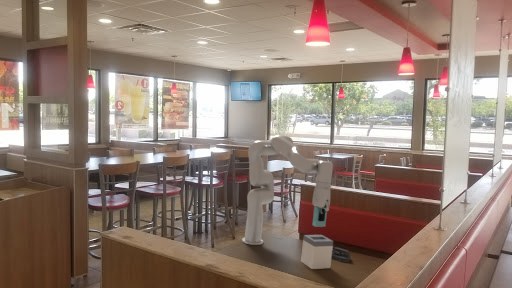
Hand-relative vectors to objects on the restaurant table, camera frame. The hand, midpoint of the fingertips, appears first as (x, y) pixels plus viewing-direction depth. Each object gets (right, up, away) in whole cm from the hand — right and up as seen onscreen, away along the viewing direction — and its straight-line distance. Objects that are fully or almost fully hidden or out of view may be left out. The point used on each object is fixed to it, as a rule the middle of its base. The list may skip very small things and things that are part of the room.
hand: (319, 219), depth 204 cm
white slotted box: (-2, -23, +1) cm, 24 cm away
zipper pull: (+8, -24, +20) cm, 32 cm away
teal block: (0, -3, 0) cm, 3 cm away
